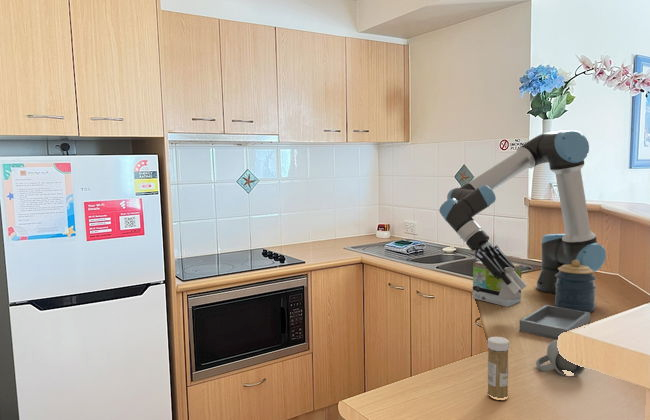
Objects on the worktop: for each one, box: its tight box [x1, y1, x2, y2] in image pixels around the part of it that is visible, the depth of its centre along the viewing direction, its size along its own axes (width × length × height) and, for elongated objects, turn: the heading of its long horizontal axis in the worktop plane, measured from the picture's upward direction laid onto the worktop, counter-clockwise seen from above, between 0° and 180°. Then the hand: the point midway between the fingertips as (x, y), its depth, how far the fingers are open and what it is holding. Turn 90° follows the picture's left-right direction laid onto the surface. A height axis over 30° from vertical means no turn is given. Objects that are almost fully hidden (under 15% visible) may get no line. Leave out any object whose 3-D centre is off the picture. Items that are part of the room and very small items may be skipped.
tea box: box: [472, 260, 523, 308], centre depth 187 cm, size 15×10×15 cm, turn 40°
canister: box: [554, 260, 597, 314], centre depth 175 cm, size 13×13×18 cm
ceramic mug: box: [535, 339, 586, 376], centre depth 124 cm, size 11×8×8 cm
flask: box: [498, 267, 522, 300], centre depth 164 cm, size 7×7×10 cm
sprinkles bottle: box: [487, 336, 510, 398], centre depth 110 cm, size 5×5×14 cm
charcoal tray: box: [519, 304, 591, 340], centre depth 157 cm, size 22×14×4 cm, turn 136°
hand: (520, 289), depth 161 cm, fingers closed on flask, 4 cm apart
